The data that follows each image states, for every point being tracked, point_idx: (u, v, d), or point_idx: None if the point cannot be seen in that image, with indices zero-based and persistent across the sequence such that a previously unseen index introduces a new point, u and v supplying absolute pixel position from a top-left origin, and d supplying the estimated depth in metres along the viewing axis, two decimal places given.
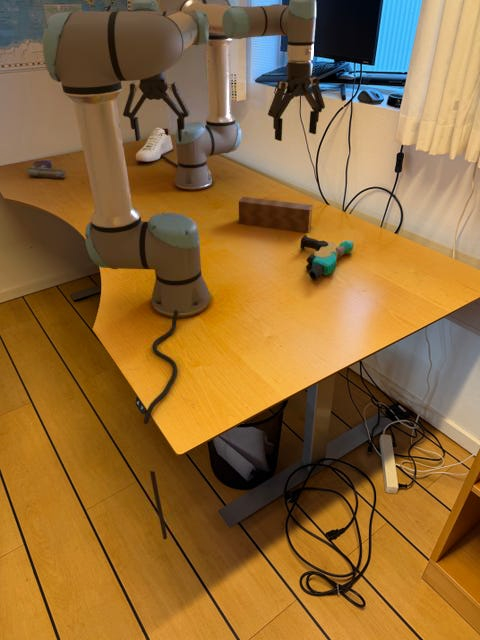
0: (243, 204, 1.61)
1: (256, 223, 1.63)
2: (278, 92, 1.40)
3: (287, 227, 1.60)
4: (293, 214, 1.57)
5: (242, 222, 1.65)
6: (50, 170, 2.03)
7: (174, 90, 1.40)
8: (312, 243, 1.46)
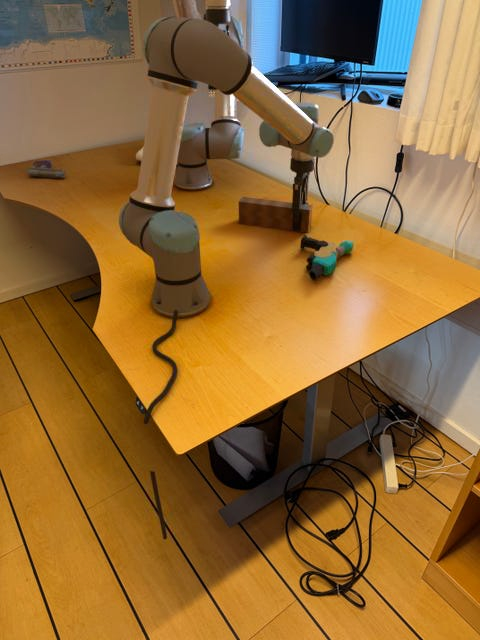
0: (243, 204, 1.61)
1: (256, 223, 1.63)
2: None
3: (287, 227, 1.60)
4: None
5: (242, 222, 1.65)
6: (50, 170, 2.03)
7: None
8: (312, 243, 1.46)
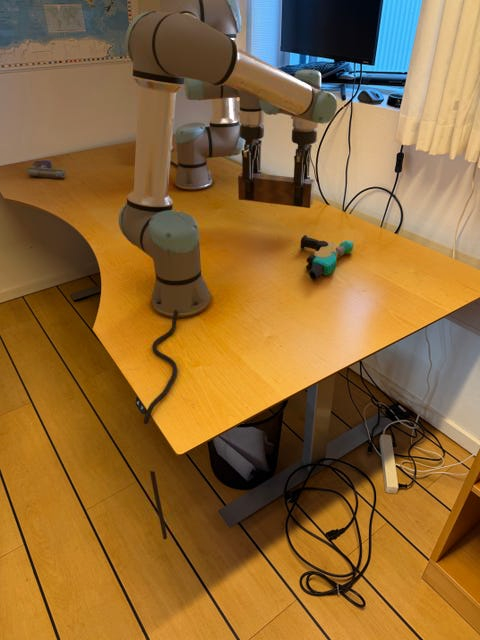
0: None
1: (256, 199, 1.58)
2: None
3: (288, 202, 1.55)
4: None
5: (242, 198, 1.59)
6: (50, 170, 2.03)
7: None
8: (312, 243, 1.46)
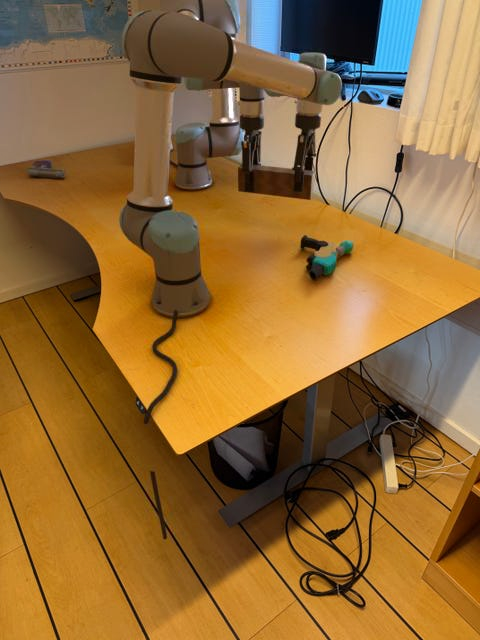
0: None
1: (256, 191, 1.56)
2: None
3: (288, 194, 1.53)
4: None
5: (242, 190, 1.58)
6: (50, 170, 2.03)
7: (314, 131, 1.48)
8: (312, 243, 1.46)
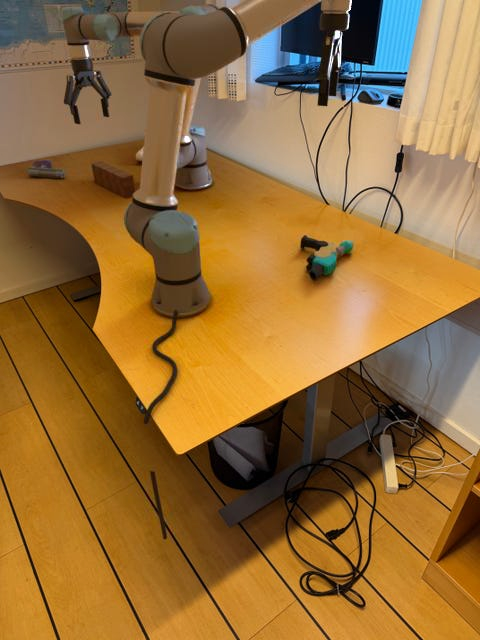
0: (93, 166, 1.94)
1: (102, 184, 1.95)
2: None
3: (116, 190, 1.89)
4: (116, 180, 1.85)
5: (96, 182, 1.99)
6: (50, 170, 2.03)
7: None
8: (312, 243, 1.46)
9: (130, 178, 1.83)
